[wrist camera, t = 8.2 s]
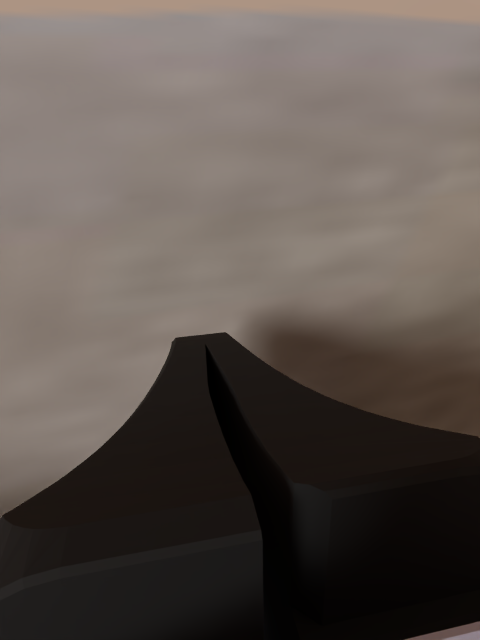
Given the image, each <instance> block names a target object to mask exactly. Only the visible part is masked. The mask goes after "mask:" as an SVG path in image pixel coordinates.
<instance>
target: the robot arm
mask: <svg viewBox="0 0 480 640" xmlns="http://www.w3.org/2000/svg"><path fill="white" fill-rule="evenodd" d="M0 640H480V438H478V437H477V436H471V435H466V434H460V433H455V432H450V431H444V430H439V429H433V428H428V427H422V426H418V425H413V424H409V423H406V422H402V421H398V420H394V419H390V418H386V417H383V416H379V415H376V414H373V413H370V412H366V411H363V410H360V409H358V408H355V407H352V406H349V405H347V404H344V403H341V402H338V401H336V400H333V399H331V398H329V397H326V396H324V395H322V394H320V393H318V392H316V391H313V390H311V389H309V388H307V387H305V386H303V385H301V384H299V383H297V382H296V381H294V380H292V379H290V378H289V377H287V376H285V375H284V374H282V373H280V372H279V371H277V370H275V369H274V368H272V367H271V366H269V365H268V364H266V363H265V362H264V361H262V360H261V359H259V358H258V357H257V356H255V355H254V354H252V353H251V352H250V351H249V350H247V349H246V348H245V347H243V346H242V345H241V344H240V343H238V342H237V341H236V340H235V339H234V338H232V337H231V336H230V335H229V334H227V333H226V332H223V333H214V334H205V335H196V336H187V337H178V338H175V339H174V341H173V342H172V345H171V349H170V352H169V355H168V357H167V359H166V362H165V364H164V366H163V368H162V370H161V372H160V374H159V375H158V377H157V379H156V381H155V383H154V384H153V386H152V387H151V389H150V390H149V392H148V393H147V395H146V397H145V398H144V400H143V401H142V402H141V404H140V405H139V406H138V408H137V409H136V410H135V412H134V413H133V414H132V415H131V416H130V418H129V419H128V420H127V421H126V422H125V424H124V425H123V426H122V427H121V428H120V429H119V430H118V431H117V432H116V433H115V434H114V435H113V436H112V437H111V438H110V439H109V440H108V441H107V442H106V443H105V444H104V445H103V446H102V447H101V448H99V449H98V450H97V451H96V452H95V453H93V454H92V455H91V456H90V457H89V458H87V459H86V460H85V461H84V462H83V463H81V464H80V465H79V466H77V467H76V468H75V469H73V470H72V471H71V472H69V473H68V474H67V475H65V476H64V477H62V478H61V479H60V480H58V481H57V482H55V483H54V484H52V485H51V486H49V487H48V488H46V489H45V490H43V491H41V492H40V493H38V494H37V495H35V496H34V497H32V498H30V499H29V500H27V501H26V502H24V503H23V504H21V505H19V506H18V507H16V508H15V509H13V510H11V511H10V512H8V513H6V514H4V515H3V516H2V517H1V518H0Z"/></svg>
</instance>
